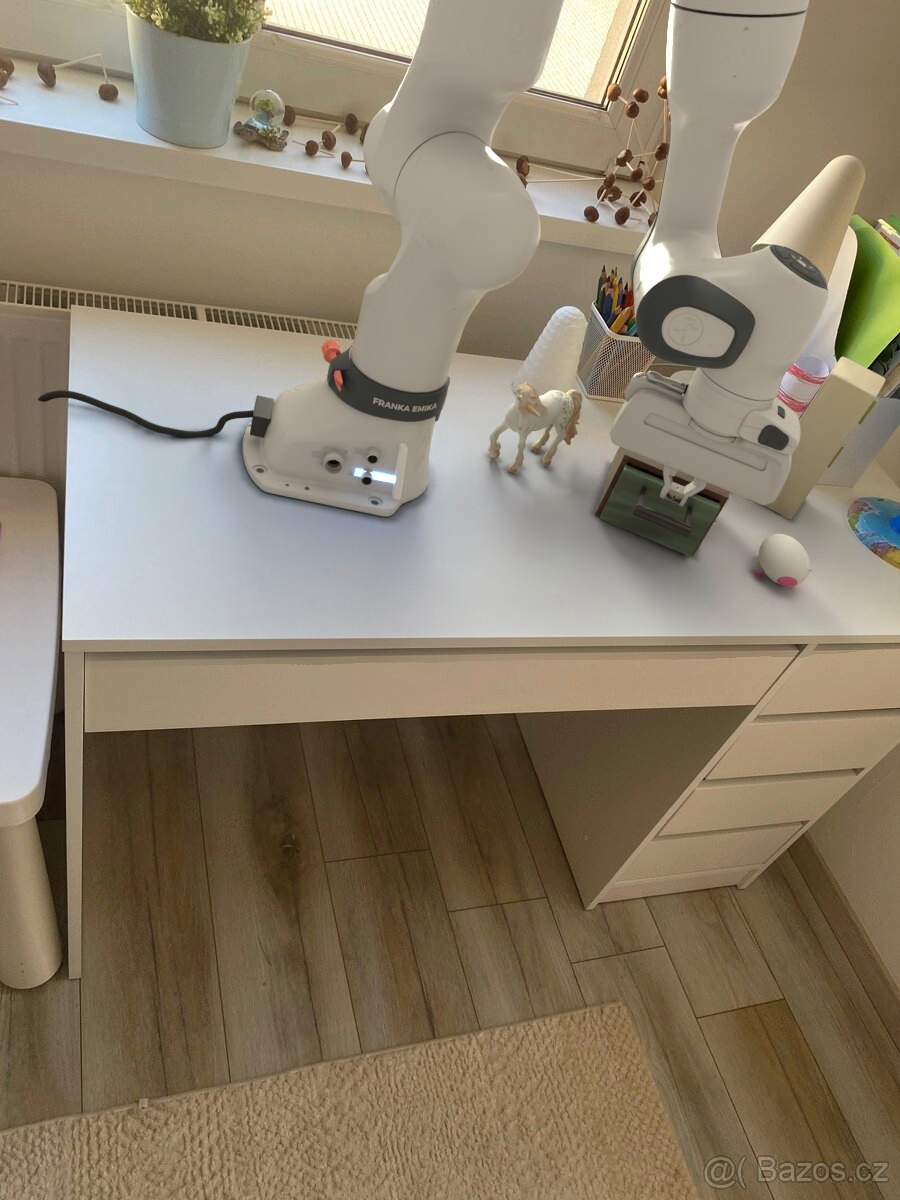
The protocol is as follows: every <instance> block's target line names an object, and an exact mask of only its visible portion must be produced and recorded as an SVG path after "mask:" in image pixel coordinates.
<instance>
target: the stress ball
mask: <svg viewBox="0 0 900 1200" xmlns="http://www.w3.org/2000/svg"><path fill="white" fill-rule="evenodd" d="M758 561H759V564H760V567H761V569H762V571H760V572H754V575H755V576H756V578H757V579H759V577H760V575H761V574H762V573H763V572H764V574H765V575H766V576H767V577H768V578H769V579H770V580H771V581H772V582H774V583H775V584H778V585H780V586H782V587H789V588H792V587H797V586H799V585H801V584H803V583H804V582H805V581H806V580H807V578H808V577H809V574H810V571H811V561H810V557H809V555H808V552H807V550H806V549H805V548H804V546H803V545H802V543H801V542H799V541H798V540H797V539H796V538H794V537H793V536H790V535H788V534H783V533H774V534H771V535H769V536H767V537H765V538H764V540H763V541H762V542H761V544H760V546H759V549H758Z"/></svg>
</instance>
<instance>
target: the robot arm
mask: <svg viewBox="0 0 900 1200" xmlns="http://www.w3.org/2000/svg"><path fill="white" fill-rule="evenodd" d="M564 3H565V0H429V2H428V6H427V10H426V14H425V19H424V23H423V27H422V31H421V34H420V37H419V40H418V43H417V46H416V49H415V52H414V54H413V57H412V59H411V62H410V65H409V67H408V68H407V71H406V73H405V75H404V77H403V80H402V81H401V84H400V85H399V87H398V90H397V91H396V94H395V95H394V98H393V99H392V101H391V102H389V103H388V104H386V105H385V106H384V107H382V108H381V109H380V110H379V111H378V112H377V113H376V114H375V116H374V117H373V118H372V120H371V121H370V123H369V125H368V127H367V128H366V132H365V135H364V139H363V147H362V148H363V150H362V153H363V154H362V155H363V161H364V165H365V169H366V172H367V174H368V177H369V180H370V183H371V185H372V188H373V190H374V193H375V195H376V196H377V198H378V199H379V201H380V203H381V204H382V205H383V206H384V207H385V208H386V210H387V211H388V212H389V213H390V214H391V215H392V217H393V219H395V220H396V222H397V223H398V225H400V237H401V238H400V245H399V249H398V251H397V253H396V255H395V258H394V260H393V262H392V264H391V265H390V267H389V269H388V270H387V272H384V273H381V274H379V275H377V276H376V277H374V278H373V279H372V280H371V281H370V282H369V283H368V285H367V286H366V288H365V290H364V293H363V298H362V301H361V307H360V310H359V316H358V319H357V323H356V329H355V333H354V337H353V342H352V344H351V345H350V346H349V347H348V348H347V349H346V350H345V351H343V352H341V348H340V345H339V342H337V341H336V340H334V339H328V340H325V342H323V343H322V345H321V352H322V357H323V360H324V361H325V362H326V363H328V364H329V366H328V370H327V374H324V375H321V376H319V377H316V378H314V379H312V380H310V381H307V382H304V383H302V384H299V385H297V386H294V387H291V388H288V389H286V390H284V391H282V392H281V393H280V394H279V395H278V396H277V398H272V397H267V396H263V395H259V394H258V395H256V397H255V402H254V407H253V409H252V410H239V411H232V412H229V413H226V414H224V415H222V416H221V417H220V418H219V419H218V421H217V423H216V425H215V426H214V427H211V428H208V429H203V430H196V431H195V430H183V429H177V428H173V427H168V426H163V425H159V424H156V423H153V422H151V421H149V420H147V419H144V418H142V417H141V416H139V415H137V414H135V413H133V412H132V411H129V410H127V409H124V408H122V407H119V406H115V405H114V404H113V405H112V404H110V403H107V402H105V401H103V400H100V399H97V398H94V397H92V396H89V395H86V394H83V393H80V392H77V391H72V390H66V389H65V390H62V389H61V390H60V389H59V390H52V391H48V392H45V393H43V394H42V395H40V396H39V397H38V398H37V401H39V402H41V403H45V402H49V401H51V400H55V399H71V400H76V401H79V402H83V403H86V404H88V405H91V406H93V407H96V408H99V409H101V410H103V411H107V412H109V413H112V414H115V415H118V416H121V417H123V418H126V419H128V420H130V421H131V422H134V423H136V424H138V426H139V425H140V426H141V427H143V428H145V429H147V430H150V431H152V432H156V433H159V434H163V435H169V436H172V437H179V438H185V439H195V438H196V439H197V438H207V437H211V436H214V435H217V434H219V433H221V432H222V430H224V427H225V425H226V424H227V422H230V421H231V420H236V419H237V420H238V419H247V418H248V419H250V418H251V420H250V421H249V423H248V425H247V426H246V428H245V431H244V433H243V434H244V435H243V438H242V457H243V463H244V467H245V469H246V471H247V473H248V475H249V477H250V480H252V481H253V483H254V484H255V485H256V486H257V487H258V488H259V489H260V490H261V491H263V492H265V493H269V494H273V495H278V496H282V497H287V498H292V499H297V500H301V501H307V502H311V503H315V504H321V505H326V506H331V507H336V508H340V509H346V510H349V511H355V512H360V513H364V514H370V515H374V516H379V517H391V516H393V515H394V514H395V513H396V512H397V511H398V509H399V508H400V507H401V506H402V505H403V504H405V503H407V502H410V501H412V500H414V499H415V500H416V499H417V498H418V497H420V496H421V495H422V494H423V493H424V492H425V491H426V490H427V488H428V486H429V483H430V454H431V446H432V441H433V434H434V429H435V424H436V422H437V421H439V418H440V415H441V413H442V411H443V409H444V406H445V404H446V401H447V396H448V392H449V386H450V382H451V378H450V376H449V374H450V371H451V368H452V365H453V362H454V359H455V355H456V353H457V350H458V347H459V344H460V341H461V338H462V335H463V332H464V329H465V327H466V325H467V322H468V320H469V319H470V317H471V315H472V313H473V311H474V310H475V308H476V307H477V305H478V304H479V303H480V301H481V300H482V299H483V298H484V297H485V295H487V293H488V292H492V291H495V290H498V289H500V288H503V287H505V286H507V285H509V284H510V283H512V282H513V281H515V280H516V279H517V278H518V277H520V275H521V274H522V273H524V271H525V270H526V269H527V267H528V266H529V265H530V263H531V262H532V260H533V258H535V257H534V256H535V254H536V252H537V249H538V247H539V244H540V239H541V232H542V231H541V230H542V228H541V219H540V216H539V213H538V211H537V208H536V206H535V204H534V201H533V200H532V198H531V196H530V194H529V192H528V190H527V188H526V187H525V184H524V183H523V181H522V180H521V177H520V176H519V175H518V174H517V173H516V172H515V171H514V170H513V169H512V168H511V167H509V165H508V164H507V163H506V162H504V161H503V159H501V158H500V156H498V155H497V154H496V153H495V152H494V151H493V150H492V145H493V144H492V143H493V137H494V134H495V131H496V129H497V126H498V124H499V123H500V121H501V120H502V119H501V118H502V117H503V115H504V113H505V112H506V110H507V108H508V107H509V106H510V103H512V101H513V100H514V99H515V98H516V97H517V96H519V95H521V94H524V93H526V92H527V91H529V90H530V89H532V88H533V87H534V86H535V85H536V84H537V83H538V81H539V80H540V78H541V77H542V74H543V73H544V72H543V71H544V69H545V65H546V61H547V58H548V55H549V52H550V49H551V46H552V43H553V40H554V35H555V32H556V29H557V26H558V23H559V19H560V17H561V13H562V10H563V7H564ZM809 4H810V0H671V2H670V9H669V17H668V24H667V25H668V27H667V35H666V36H667V39H666V57H665V71H666V72H665V77H666V78H665V79H666V96H667V97H666V98H667V103H668V108H669V117H670V139H669V145H668V151H667V158H666V163H665V168H664V175H663V180H662V187H661V191H660V197H659V203H658V207H657V211H656V215H655V217H654V220H653V222H652V223H651V225H650V227H649V229H648V231H647V233H645V236H644V237H643V239H642V240H641V242H640V244H639V246H638V247H637V249H636V251H635V253H634V256H633V258H632V260H631V261H632V262H631V265H630V273H629V274H630V275H629V277H630V278H629V279H630V285H631V289H632V293H633V306H634V307H633V308H634V320H635V330H636V334H637V337H638V339H639V341H640V342H641V345H642V346H643V347H644V349H646V351H647V352H649V353H650V354H651V355H653V356H655V357H656V358H658V359H660V360H662V361H665V362H669V363H673V364H677V365H683V366H689V367H696V368H695V370H694V372H693V374H692V376H691V379H690V380H689V382H688V383H687V384H686V383H684V382H681V381H679V380H676V379H674V378H671V377H670V378H669V377H668V376H664V375H662V374H661V373H659V372H657V371H654V370H649V371H648V372H646V371H644V372H643V371H642V372H637V373H635V374H634V375H633V376H631V378H630V379H629V381H628V383H627V385H626V388H625V390H624V399H625V401H624V402H623V403H622V405H621V407H620V409H619V410H618V412H617V414H616V417H614V420H613V422H612V425H611V427H610V429H609V438H610V440H611V443H612V444H613V445H615V446H617V447H618V448H619V447H622V448H624V449H627V450H629V451H632V452H634V453H637V454H639V455H641V456H644V457H646V458H649V459H651V460H654V461H656V462H659V463H661V464H663V465H665V466H664V471H663V475H664V484H665V485H664V487H663V489H662V491H661V494H660V498H663V499H665V500H668V501H670V502H673V503H675V504H678V505H680V506H684V504H685V502H686V500H687V499H688V497H689V496H692V495H694V494H696V493H698V492H699V491H701V490H703V489H704V488H705V486H706V485H707V483H710V484H712V485H715V486H717V487H720V488H722V489H724V490H727V491H729V493H731V494H734V495H737V496H739V497H742V498H744V499H746V500H749V501H750V502H751V501H752V502H754V503H756V504H759V505H761V506H765V505H766V504H769V503H771V502H774V501H775V500H776V498H777V497H778V495H779V493H780V492H781V490H782V488H783V486H784V484H785V482H786V480H787V477H788V475H789V472H790V470H791V462H792V453H793V452H794V451H795V450H796V448H797V447H798V444H799V441H800V435H801V429H800V422H799V420H800V418H799V416H798V414H797V413H796V412H795V411H794V410H793V409H792V408H790V407H789V406H788V405H786V404H785V403H784V402H783V401H782V400H780V398H779V397H777V396H778V394H779V392H780V389H781V385H782V381H783V379H784V377H785V375H786V374H787V372H788V371H789V370H790V369H791V368H792V367H793V366H794V365H796V363H797V362H798V360H799V359H800V357H801V355H802V354H803V352H804V350H805V349H806V346H807V344H808V343H809V341H810V339H811V337H812V336H813V334H814V332H815V329H816V328H817V325H818V323H819V321H820V320H821V318H822V317H821V316H822V314H823V313H824V309H825V307H826V305H827V301H828V297H829V289H828V284H827V282H826V280H825V277H824V276H823V274H822V272H821V271H820V269H819V267H818V266H816V265H815V264H813V262H812V261H811V260H810V259H808V258H807V257H805V256H804V255H802V254H801V253H799V252H798V251H796V250H794V249H792V248H789V247H788V246H785V245H784V246H783V245H779V244H769V245H767V246H765V247H764V248H762V249H759V250H757V251H753V252H748V253H745V254H740V255H735V256H728V257H727V256H726V257H724V253H723V249H722V245H721V241H720V237H719V230H718V225H719V224H718V221H719V216H720V212H721V207H722V203H723V199H724V194H725V189H726V186H727V181H728V176H729V172H730V169H731V163H732V160H733V155H734V152H735V148H736V146H737V143H738V140H739V138H740V136H741V134H743V131H744V130H745V129H746V127H747V126H748V125H749V124H750V123H751V122H752V121H753V120H754V119H756V118H758V117H759V116H760V115H762V114H763V113H764V112H766V111H767V110H768V109H769V108H771V107H772V105H773V104H774V103H775V102H776V101H777V100H778V99H779V96H780V94H781V92H782V90H783V87H784V85H785V83H786V80H787V79H788V75H789V73H790V71H791V68H792V65H793V63H794V59H795V57H796V54H797V52H798V47H799V45H800V41H801V37H802V34H803V29H804V26H805V20H806V17H807V14H808V8H809ZM677 471H681V472H683V473H685V474H688V475H690V476H693V477H694V481H693V482H691V483H690V484H688V485H686V486H682V485H679V484H677V483H675V482H673V481H672V476H675V474H676V473H677Z"/></svg>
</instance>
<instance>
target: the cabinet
mask: <svg viewBox="0 0 900 1200" xmlns="http://www.w3.org/2000/svg"><path fill="white" fill-rule="evenodd" d="M628 462H629V463H631V464H634V465H636V466H638V467H641V468H643V469H646V470H648V471H650V472H653V473H655V474H657V475H660V476H662V477H664V475H663V471H664V466H665V465H663V464H661V463H659V462H656V461H654V460H651V459H649V458H646V457H644V456H641V455H639V454H637V453H634V452H632V451H629V450H627V449H624V448H622V447H619V446H618V448H617V450H616V453H615V455H614V457H613V459H612V461H611V463H610V466H609V469H608V472H607V475H606V478H605V481H604V484H603V488H602V490H601V494H600V497H599V500H598V503H597V507H596V509H595V513H594V516H596V517H597V518H600V516H601V513H602V511H603V509H604V507H605V505H606V503H607V501H608V499H609V497H610V495H611V493H612V491H613V489H614V487H615V485H616V483H617V481H618V479H619V477H620V475H621V473H622V471H623V469H624V467H625V465H627V464H628ZM672 481H674V482H677V483H679V484H681V485H684V486H686V485H688V484H690V483H691V482H693V481H694V477H693V476H690V475H688V474H685V473H683V472H681V471H677V473H676V474H675V476H672ZM699 492H700V493H703V494H705V495H708V496H710V497H712V498H715V499H714V500H713V502H716V503H718V504H720V510H719V511H718V513H717V515H716V516H715V518H714V520H713V521H712V523H711V525H710V526H709V528H708V529H707V531H706V533H705V534H704V536H703V538H702V539H701V541H700V543H699V544H698V546H697V547H696V549H695V551H694V552H693V554H692V556H691V557H694V556H695V554H696V553H697V551H698V549H700V546H701V545H702V543H703V542H704V540H705V538H706V536H707V535H708V533H709V531H710V530H711V528H712V526H713V525H714V524H715V522H716V520H717V519H718V517H719V515H720V513H721V512H722V511H723V508H724V507H725V505H726V503H727V502H728V500H729V498H730V492H729V491H727V490H724V489H722V488H720V487H717V486H715V485H712V484H710V483H707V485H706V486H705V488H704V489H703V490H701V491H699Z"/></svg>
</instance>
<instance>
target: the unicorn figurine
mask: <svg viewBox="0 0 900 1200" xmlns="http://www.w3.org/2000/svg"><path fill="white" fill-rule="evenodd" d="M514 397H515V400H514V402H513V403H512V404H511V405H510V406H509V407H508V408H507V410H506V411H505V413H504V415H503V416H504V417H503V419H502V420H501V422H500V423H499V425H498V426H496V428H495V429H494V430H493V431H492V432H491V434H490V435H489V446H488V455H489V457H490V458H491V459H492V460H497V459H498V458H499V457H500V455H501V453H500V450H501V449H502V444H501V442H499V441H498V439H499V436H500V435H501V434H502V433H504V432H505V431H507V430H508V429H509V430H511V431H513V432H514V433H517V434H518V437H519V439H518V444H517V454H516V457H515V460H514V461H513V462H512V463H511V464H510V465H509V466H508V467H507V471H508V473H512V474H516V473H517V472H518V471H519V468H521V467H522V466H523V464H524V459H525V456H524V451H525V449H526V443H527V442H526V441H527V438H528V436H529V435H531V433H532V432H538V431H541V430H543V429H544V432H543V433H542V435H541V436H540V437H539V439H538V440H537V441H534V442H533V443H532V445H531V446H530V447H529V448H530V450H531V451H532V452H540V451H541V450H542V448H543V447H544V446H546V444H547V442H548V441H549V439H550V437H551V435H550V432H551V430H552V429H553V427H554V429H555V432H556V438H555V439H554V440H553V442H552V443H551V444H550V446H549V447H548V448H547V449H546V452H545V454H544V456H543V457H542V465H543V466H545V467H547V466H550V465H551V463H552V460H553V457H554V456H555V455H556V453H557V452H558V447H559V444H560V443H562V442H563V441H564V442H565V443H566V445H567V446H571V445H572V441H571V440H572V439H574V438H575V436H576V435H578V430H577V426H576V425H580V422H579V420H580V417H581V409H582V403H583V394H582V393H581V392H580V391H578V390H577V389H569V390H567V391H566V392H565V391H561V390H557V389H553V390H552V389H551V390H548V391H547V392H546V393H544V394H542V395H539V394H538V391H537V389H536V387H535V386H534V385H533V384H531V383H529V381H525V382H524V383H521V384H520V385H518V386H517V388H516V390H515V392H514Z"/></svg>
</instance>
